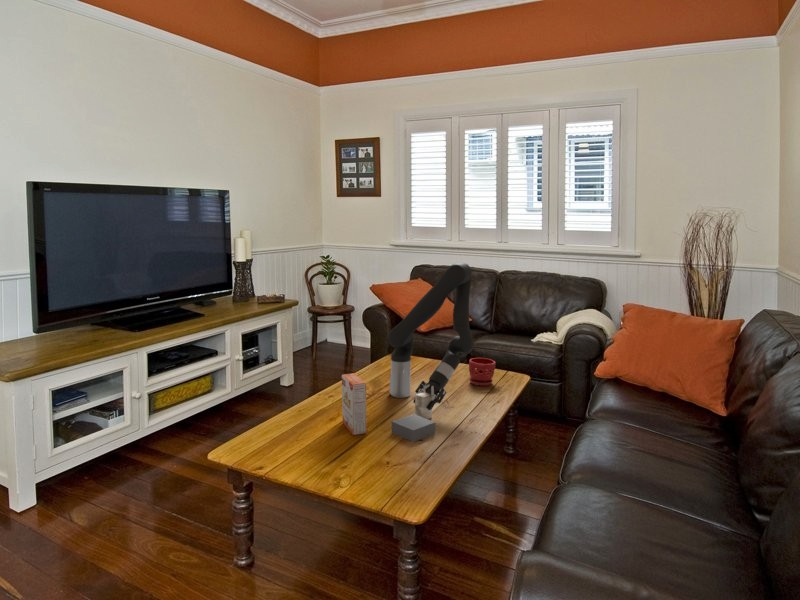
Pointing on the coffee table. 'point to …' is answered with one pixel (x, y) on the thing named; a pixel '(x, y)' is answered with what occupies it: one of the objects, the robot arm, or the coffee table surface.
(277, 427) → the coffee table surface
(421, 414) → the taupe block
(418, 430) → the flat gray square
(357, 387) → the cracker box
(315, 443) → the coffee table surface
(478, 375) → the plant pot
